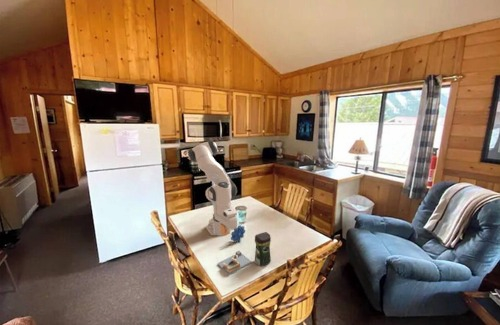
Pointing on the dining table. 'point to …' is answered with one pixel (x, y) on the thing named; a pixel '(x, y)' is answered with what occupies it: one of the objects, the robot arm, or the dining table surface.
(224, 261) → the routing panel
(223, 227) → the block
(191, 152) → the robot arm
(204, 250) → the dining table surface
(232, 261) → the routed cable
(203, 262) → the dining table surface
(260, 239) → the coffee jar
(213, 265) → the dining table surface
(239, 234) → the grapes
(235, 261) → the bracket
